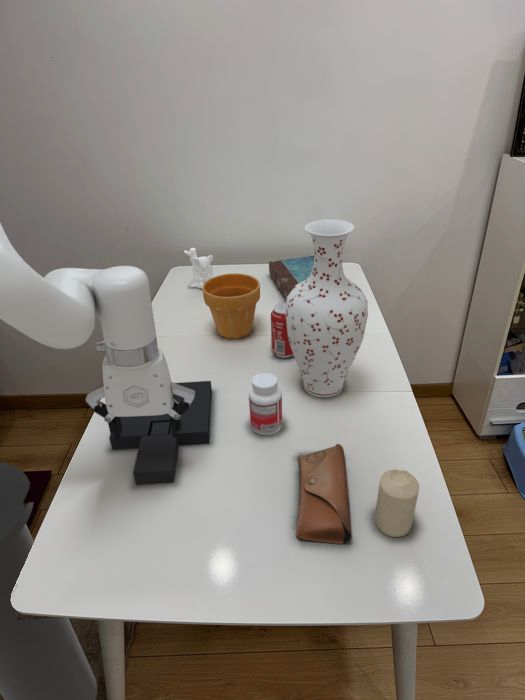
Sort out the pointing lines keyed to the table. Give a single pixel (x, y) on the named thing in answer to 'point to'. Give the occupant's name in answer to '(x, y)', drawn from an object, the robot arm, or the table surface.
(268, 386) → the pill bottle
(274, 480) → the table surface
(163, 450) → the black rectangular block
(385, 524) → the candle
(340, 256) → the vase
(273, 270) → the book
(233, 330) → the flower pot
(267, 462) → the table surface
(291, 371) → the table surface
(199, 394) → the base pad
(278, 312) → the beverage can
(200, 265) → the white animal figurine
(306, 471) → the sunglasses case
